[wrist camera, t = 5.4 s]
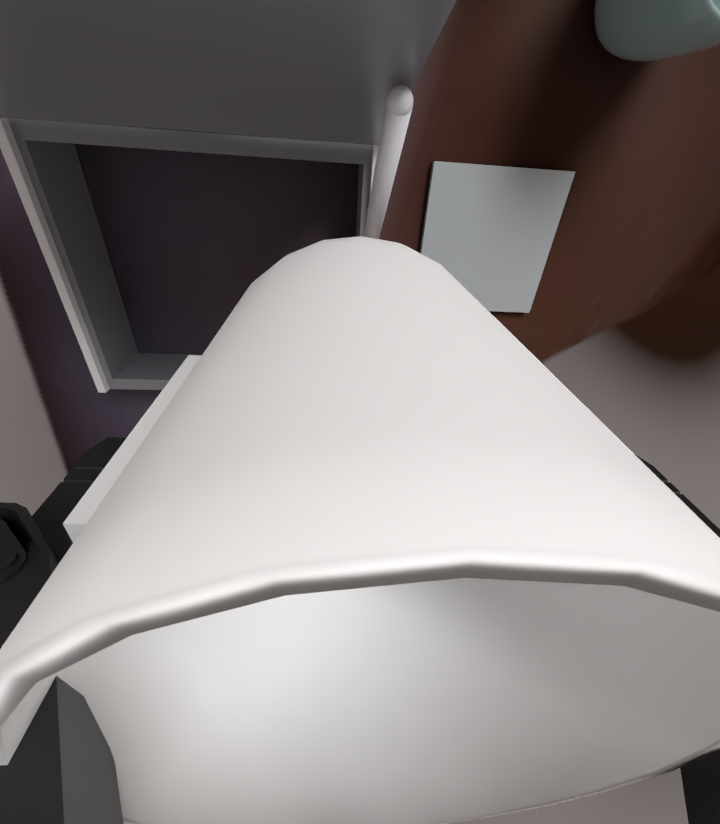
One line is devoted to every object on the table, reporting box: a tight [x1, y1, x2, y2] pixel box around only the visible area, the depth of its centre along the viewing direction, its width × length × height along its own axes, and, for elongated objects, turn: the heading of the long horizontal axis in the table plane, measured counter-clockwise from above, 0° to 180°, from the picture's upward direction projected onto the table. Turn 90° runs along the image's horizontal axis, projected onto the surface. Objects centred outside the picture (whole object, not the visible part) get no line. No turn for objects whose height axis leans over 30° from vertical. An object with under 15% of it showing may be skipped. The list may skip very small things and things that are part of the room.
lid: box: [0, 0, 456, 145], centre depth 12 cm, size 19×22×1 cm
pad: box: [420, 161, 575, 313], centre depth 31 cm, size 11×11×1 cm
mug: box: [0, 236, 720, 824], centre depth 10 cm, size 9×12×12 cm
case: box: [0, 85, 413, 393], centre depth 24 cm, size 20×23×16 cm
